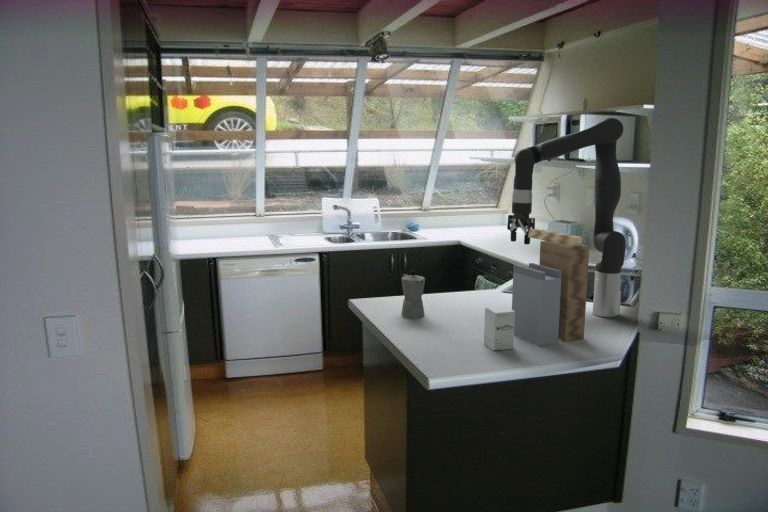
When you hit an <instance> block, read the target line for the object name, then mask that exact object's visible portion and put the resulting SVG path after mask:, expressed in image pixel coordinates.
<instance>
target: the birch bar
mask: <svg viewBox="0 0 768 512" xmlns="http://www.w3.org/2000/svg"><path fill="white" fill-rule="evenodd" d="M528 237H530V239H537V240H540V241H550V242H555V243H559V244H564V245H569V246H581V244H583V243H582V242H583V237H582V236H580V235H579V236H578V235H575V234H573V235H572V234H567V233H561V232H556V231H550V230H545V229H538V228H535V229H532V228H531V229H529V235H528Z"/></svg>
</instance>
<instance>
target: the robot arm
mask: <svg viewBox="0 0 768 512" xmlns="http://www.w3.org/2000/svg"><path fill="white" fill-rule="evenodd" d="M624 129H625V128H624V125H623V122H622V121H621V120H619V119H618V118H616V117H604V118H601V119H599V120H598V121H597V122H596V123H595V125H593V126H590V127H589V128H585V129H583V130H579V131H577V132H574V133H570V134H565V135H562V136H558V137H555V138H551V139H549V140H546V141H543V142H541V143H539V144H536V145H532V146H528V147H525V148H521V149H520V150H518V151H517V152H516V153H515V155H514V158H513V159H514V163H515V164H514V165H515V168H514V170H515V171H514V177H513V187H512V199H511V213H512V214H508V215H507V224H506V227H507V228H506V229H507V231H509V232H510V242H516V241H517V235H518V234H517V231H518V229H519V228H520V229H521V231H523V233H524V234H523V236H524V237H523V238H524V239H523V244H524V245H530V244H531V238H530V237H528V235H529V229H536V218H535V217H530V214H532V213H533V212H532V211H533V210H532V209H533V182H534V181H533V180H534V179H533V174H534V170H535V169H534V168H535V167H534V166H535V164H538V163H542V162H544V161H549V160H553V159H555V158H558V157H561V156H565V155H567V154H570V153H573V152H576V151H578V150H582V149H584V148H588V147H592V146H594V148H595V167H594V168H595V170H594V200H595V201H594V207H595V208H594V210H595V211H594V214H595V215H594V216H595V217H594V228H593V240H592V241H593V246H594V248H595V250H597V251H598V252H600V253H602V255H601V260H600V261H599V262H597V263H596V264H595V269H594V270H595V271H594V285H593V301H592V314H593V315H595V316H597V317H602V318H616V317H617V316H620V315H621V314H620V313H621V303H622V302H621V300H622V290H620V288H621V272H622V268H623V265H624V263H625V257H626V256H625V255H626V250H627V249H626V246H627V244H626V243H627V241H626V237H625V235H624V234H623V233H622V232H620V231H616V230H614V214H615V211H616V210H617V207H618V205H619V202H620V199H621V195H622V178H621V173H620V168H619V162H618V159H617V144H618V143H617V141H618V140H620V138H621V137H622V135H623V133H624Z"/></svg>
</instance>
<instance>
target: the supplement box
mask: <svg viewBox="0 0 768 512" xmlns="http://www.w3.org/2000/svg"><path fill="white" fill-rule="evenodd" d="M514 326H515V311H513V310H512V308H509V307H507V306H505V305H503V306H491V307H485V308H484V331H483V344H484V345H485V346H486V347H488V348H489V349H490V350H492V351H499V350H500V351H501V350H502V351H503V350H511V349H512V350H514V346H515V345H514V343H515V335H514Z"/></svg>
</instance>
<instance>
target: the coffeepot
mask: <svg viewBox="0 0 768 512" xmlns="http://www.w3.org/2000/svg"><path fill="white" fill-rule="evenodd" d="M410 272H411V274H410V275H408V274H405V273H401V274H400V275H399V283H400V289H401V293H402V294H403V295H404V299H403V301H402V308H401V312H400V313H401V316H402V317H403V318H405V319H410V318H411V319H414V318H416V319H421V317H422V318H423V317H425V315H426V314H425V310H424V309H425V308H424V304H423V303H424V302H423V298H422V296H423V295H424V290H425V289H424V288H425V283H426V278H425V277H424V276H421V275H416V270H414V269H413V270H411V271H410ZM411 319H410V320H411ZM414 320H415V319H414Z"/></svg>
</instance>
